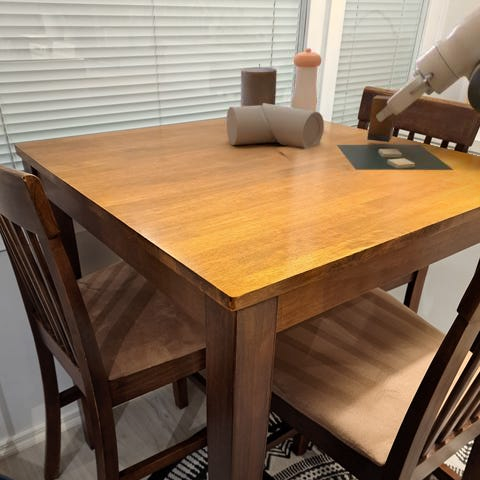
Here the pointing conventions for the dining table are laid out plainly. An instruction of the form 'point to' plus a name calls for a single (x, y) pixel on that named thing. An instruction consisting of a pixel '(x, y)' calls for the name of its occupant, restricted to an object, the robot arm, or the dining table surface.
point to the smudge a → (389, 153)
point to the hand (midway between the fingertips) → (380, 116)
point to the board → (372, 160)
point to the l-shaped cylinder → (274, 125)
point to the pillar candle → (258, 86)
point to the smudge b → (400, 163)
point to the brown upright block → (385, 127)
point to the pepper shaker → (306, 80)
